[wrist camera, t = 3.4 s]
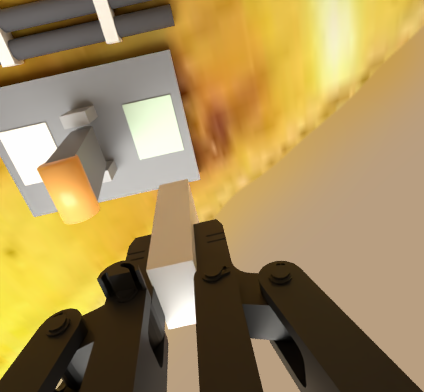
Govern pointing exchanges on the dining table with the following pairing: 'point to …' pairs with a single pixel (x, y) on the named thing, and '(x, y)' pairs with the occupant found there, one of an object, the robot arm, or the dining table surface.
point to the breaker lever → (75, 175)
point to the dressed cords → (73, 35)
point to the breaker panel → (100, 126)
